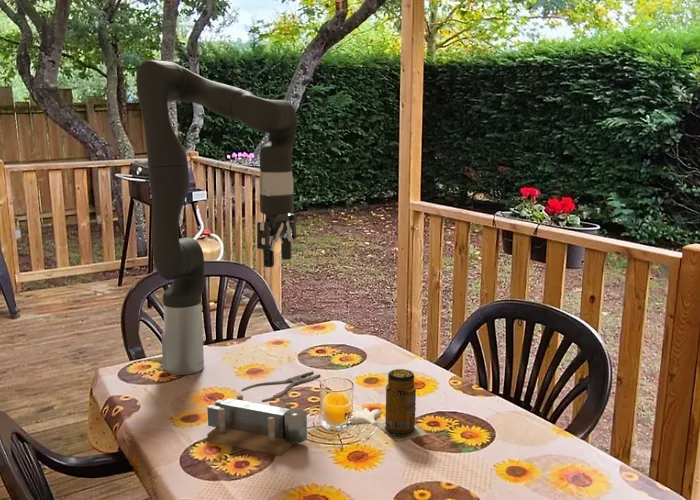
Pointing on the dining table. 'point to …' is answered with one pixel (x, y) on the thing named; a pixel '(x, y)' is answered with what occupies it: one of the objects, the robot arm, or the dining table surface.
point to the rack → (249, 436)
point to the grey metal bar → (260, 419)
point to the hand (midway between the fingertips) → (277, 263)
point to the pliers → (294, 381)
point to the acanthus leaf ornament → (364, 415)
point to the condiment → (401, 406)
